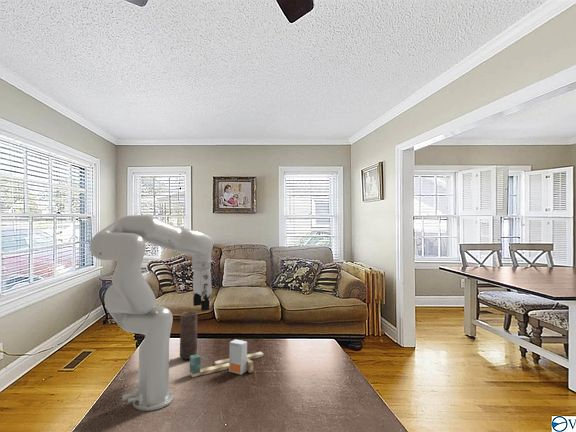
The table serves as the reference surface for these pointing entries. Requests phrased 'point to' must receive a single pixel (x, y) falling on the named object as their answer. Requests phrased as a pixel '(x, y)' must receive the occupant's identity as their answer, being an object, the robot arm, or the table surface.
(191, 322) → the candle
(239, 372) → the skincare box
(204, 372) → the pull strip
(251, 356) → the broken strip
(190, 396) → the table surface
